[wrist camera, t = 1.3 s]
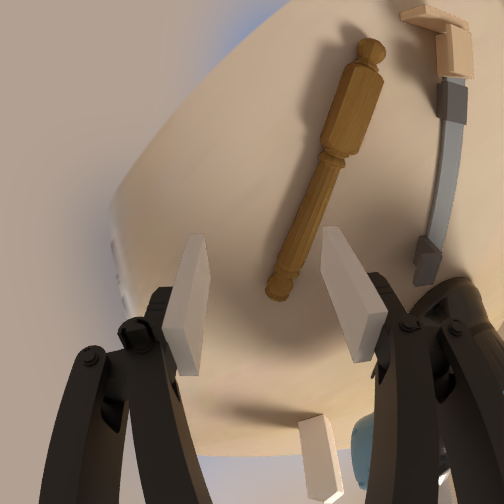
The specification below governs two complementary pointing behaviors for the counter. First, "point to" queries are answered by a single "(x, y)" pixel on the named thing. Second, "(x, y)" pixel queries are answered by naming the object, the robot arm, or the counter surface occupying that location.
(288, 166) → the counter surface
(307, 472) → the milk
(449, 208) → the board
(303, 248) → the tap handle
